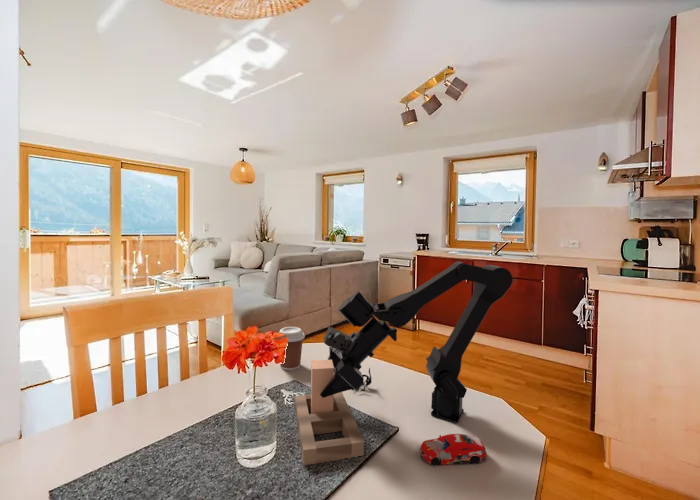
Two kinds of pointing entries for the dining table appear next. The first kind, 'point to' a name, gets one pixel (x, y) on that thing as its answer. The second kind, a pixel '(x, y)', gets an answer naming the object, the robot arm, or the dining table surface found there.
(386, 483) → the dining table surface
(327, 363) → the block
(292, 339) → the coffee cup
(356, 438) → the puzzle board
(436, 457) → the race car
